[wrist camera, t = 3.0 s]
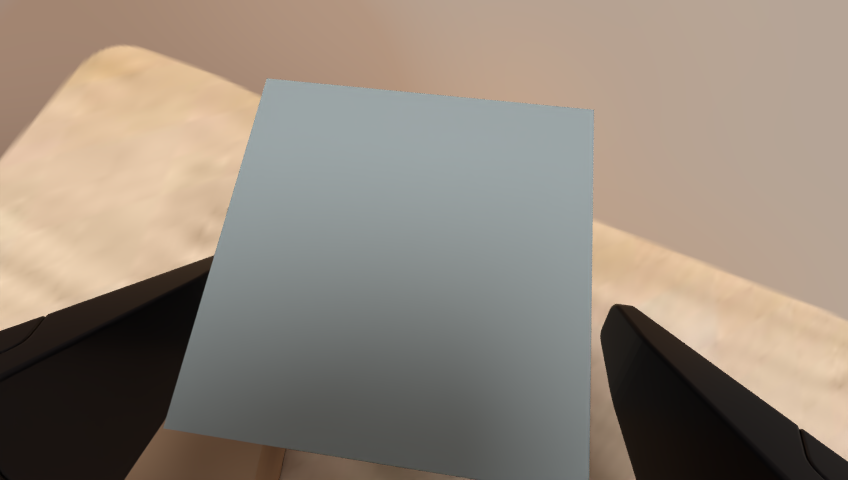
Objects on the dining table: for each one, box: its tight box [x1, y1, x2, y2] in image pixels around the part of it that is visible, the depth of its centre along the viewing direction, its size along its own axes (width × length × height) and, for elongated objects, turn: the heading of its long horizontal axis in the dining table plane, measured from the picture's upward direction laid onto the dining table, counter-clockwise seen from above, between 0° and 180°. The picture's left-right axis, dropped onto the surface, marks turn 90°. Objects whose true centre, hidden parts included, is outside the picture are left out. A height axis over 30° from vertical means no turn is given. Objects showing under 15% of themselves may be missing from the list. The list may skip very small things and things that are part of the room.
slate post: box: [163, 79, 594, 480], centre depth 11 cm, size 5×5×12 cm
